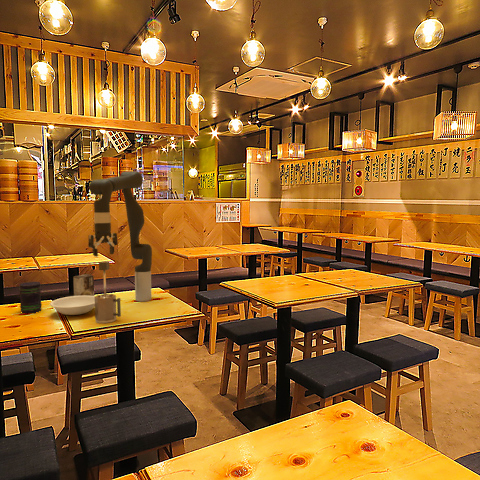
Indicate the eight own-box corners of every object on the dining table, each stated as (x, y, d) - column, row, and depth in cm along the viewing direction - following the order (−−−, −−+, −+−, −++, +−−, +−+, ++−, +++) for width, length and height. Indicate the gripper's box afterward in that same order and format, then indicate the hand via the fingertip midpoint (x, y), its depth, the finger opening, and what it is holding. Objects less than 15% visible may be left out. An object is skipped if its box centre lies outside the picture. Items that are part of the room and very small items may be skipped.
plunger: (101, 297, 191) (100, 261, 189) (113, 297, 191) (112, 261, 189) (97, 300, 185) (95, 263, 184) (108, 300, 185) (107, 263, 183)
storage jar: (45, 311, 205) (44, 283, 203) (26, 315, 197) (24, 286, 195) (36, 307, 211) (34, 280, 209) (17, 312, 203) (15, 284, 201)
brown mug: (100, 317, 194) (99, 293, 193) (123, 317, 194) (123, 294, 193) (92, 323, 185) (91, 298, 183) (117, 323, 184) (116, 298, 183)
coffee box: (88, 301, 226) (87, 273, 224) (95, 302, 222) (94, 275, 220) (73, 304, 218) (72, 276, 217) (80, 306, 214) (79, 277, 213)
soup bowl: (52, 309, 208) (52, 297, 207) (100, 305, 216) (99, 293, 216) (48, 322, 186) (47, 309, 185) (101, 317, 194) (100, 304, 193)
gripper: (111, 220, 193) (112, 252, 195) (84, 222, 182) (86, 256, 184) (119, 221, 189) (121, 254, 191) (93, 223, 178) (94, 257, 179)
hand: (103, 255), depth 187 cm, fingers open, 8 cm apart
